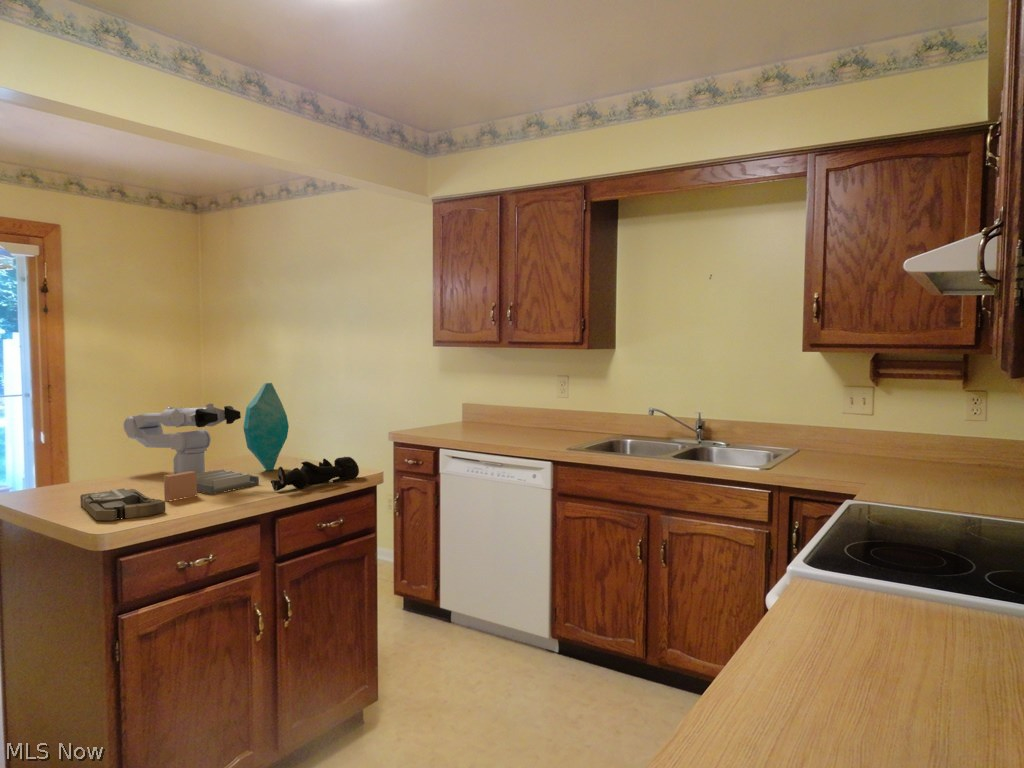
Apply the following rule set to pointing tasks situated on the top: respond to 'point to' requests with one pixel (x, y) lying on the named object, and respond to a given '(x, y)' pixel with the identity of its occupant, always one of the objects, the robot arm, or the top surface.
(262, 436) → the crystal
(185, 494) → the tile
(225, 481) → the rack
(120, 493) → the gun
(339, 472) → the figurine
